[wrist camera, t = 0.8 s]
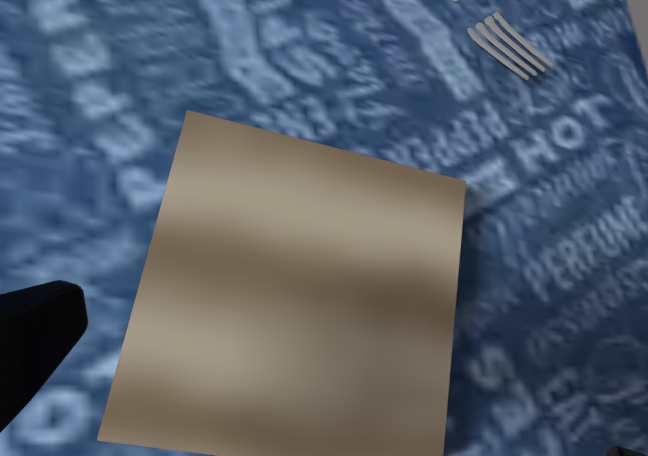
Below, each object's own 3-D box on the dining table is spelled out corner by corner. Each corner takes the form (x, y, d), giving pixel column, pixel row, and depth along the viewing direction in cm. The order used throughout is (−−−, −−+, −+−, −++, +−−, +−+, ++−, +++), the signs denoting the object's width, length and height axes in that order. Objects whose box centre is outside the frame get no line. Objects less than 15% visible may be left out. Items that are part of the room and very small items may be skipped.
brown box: (412, 465, 23) (440, 483, 20) (113, 426, 20) (96, 440, 17) (438, 198, 26) (466, 181, 24) (190, 137, 24) (187, 110, 21)
